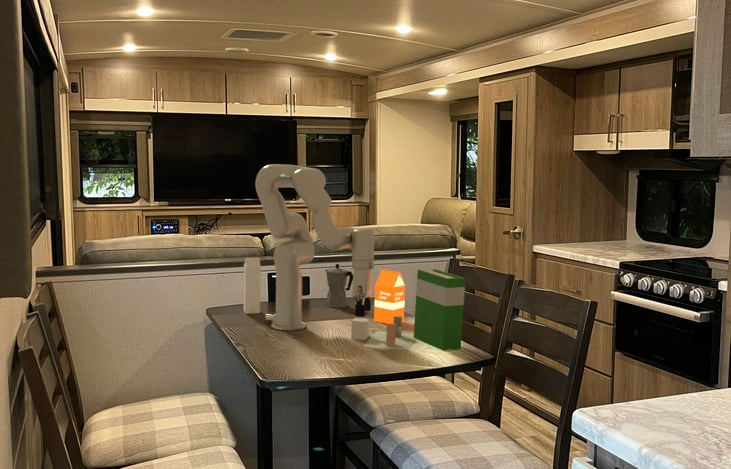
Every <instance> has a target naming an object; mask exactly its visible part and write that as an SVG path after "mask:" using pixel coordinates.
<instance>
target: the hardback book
mask: <svg viewBox="0 0 731 469" xmlns="http://www.w3.org/2000/svg"><path fill="white" fill-rule="evenodd" d="M465 287H466V277H462V276H459V275H458V274H457V275H456V274H452V273H450V272H446V271H443V270H439V269H433V270H432V271H426V270H425V271H424V270H421V269H417V274H416V289H415V290H416V291H415V292H416V294H415V307H414V308H415V309H414V322H413V323H414V324H413V325H414V326H413V334H414V338H415V339H416V340H417V341H421V342H423V343H425V344H428V345H430V346H431V347H433V348H436V349H437V350H441V351H449V350H451V351H453V350H454V351H455V350H456V351H457V350H461V348H462V337H463V336H462V334H463V332H462V331H463V320H464V308H465V307H464V306H465V305H464V304H465V293H466V292H465V291H466V288H465Z"/></svg>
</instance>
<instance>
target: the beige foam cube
mask: <svg viewBox="0 0 731 469" xmlns="http://www.w3.org/2000/svg"><path fill="white" fill-rule="evenodd" d="M370 320H371V319H370V318H365V317H355V318H353V319H352V320H351V335H350V336H351V337H350V338H351V339H352V340H363V341H364V340H365V341H366V340H367V339H369V338H370V326H371V325H370V323H371V322H370Z"/></svg>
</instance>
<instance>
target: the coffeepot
mask: <svg viewBox="0 0 731 469" xmlns="http://www.w3.org/2000/svg"><path fill="white" fill-rule="evenodd" d="M325 273H326V279H327V280H326V281H327V287H328V292H327V296H326V300H325V306H326V307H328V308H332V309H333V308H334V309H337V308H338V309H339V308H340V309H342V308H346V307H347V306H348V300H347V299H348V298H347V293H346V291H350V290H351V286H352V285H353V274H354V273H353V272H352V271H349V270H346V269H343V268H340V263H336V264H335V268H331V269H330V268H329V269H325ZM348 278H349V279H348ZM347 280H348V283H347ZM346 286H347V287H346Z"/></svg>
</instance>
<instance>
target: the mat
mask: <svg viewBox="0 0 731 469" xmlns="http://www.w3.org/2000/svg"><path fill="white" fill-rule="evenodd" d="M386 335H387V331H380V330H379V331H378V330H376V331H375V332H374V333H373V334H372V335H371V337H369V338H368V340H367V341H366V342H365V344H364V345H363V346H362V347H363V348H373V349H375V348H376V349H387V350H396V351H397V350H398V351H409V349H410V347H411V346H412V344H413V343H414V341H415V339H416V338H414V333H403V332H402V335H401V337H395V346H394V347H393V346H386Z"/></svg>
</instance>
